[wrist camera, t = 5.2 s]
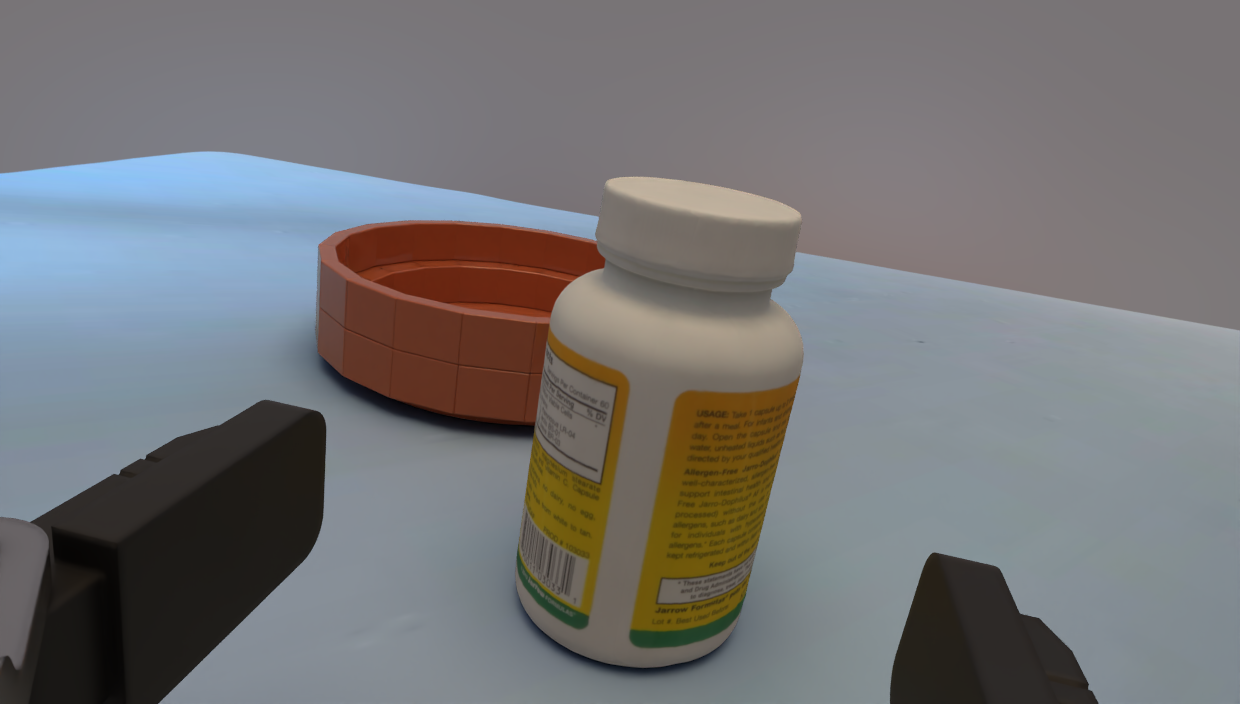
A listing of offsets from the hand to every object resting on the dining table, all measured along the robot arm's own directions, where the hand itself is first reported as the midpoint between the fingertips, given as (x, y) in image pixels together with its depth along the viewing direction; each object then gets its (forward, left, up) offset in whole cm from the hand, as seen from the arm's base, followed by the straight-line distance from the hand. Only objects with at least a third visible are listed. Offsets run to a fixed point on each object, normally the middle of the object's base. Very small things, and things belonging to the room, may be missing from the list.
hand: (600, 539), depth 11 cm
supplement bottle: (-6, -5, -6) cm, 10 cm away
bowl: (-11, -19, -6) cm, 23 cm away
